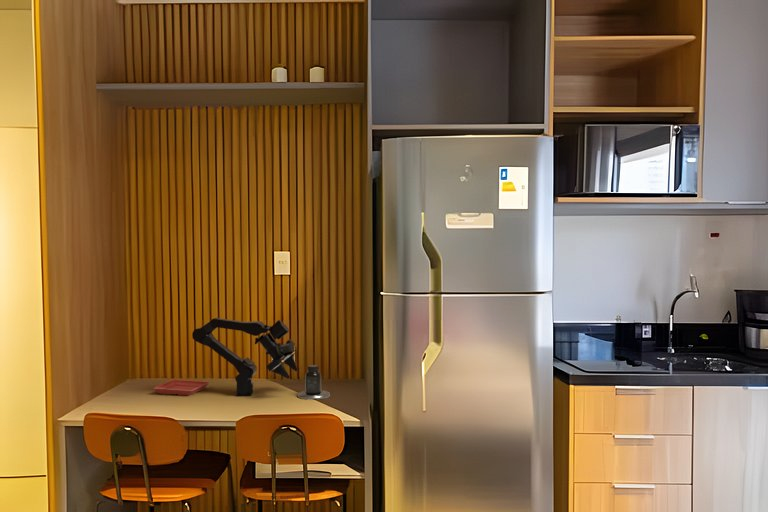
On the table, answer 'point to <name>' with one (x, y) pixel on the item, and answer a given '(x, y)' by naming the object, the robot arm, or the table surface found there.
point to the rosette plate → (321, 396)
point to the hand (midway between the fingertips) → (293, 374)
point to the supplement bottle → (313, 380)
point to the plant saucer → (181, 387)
